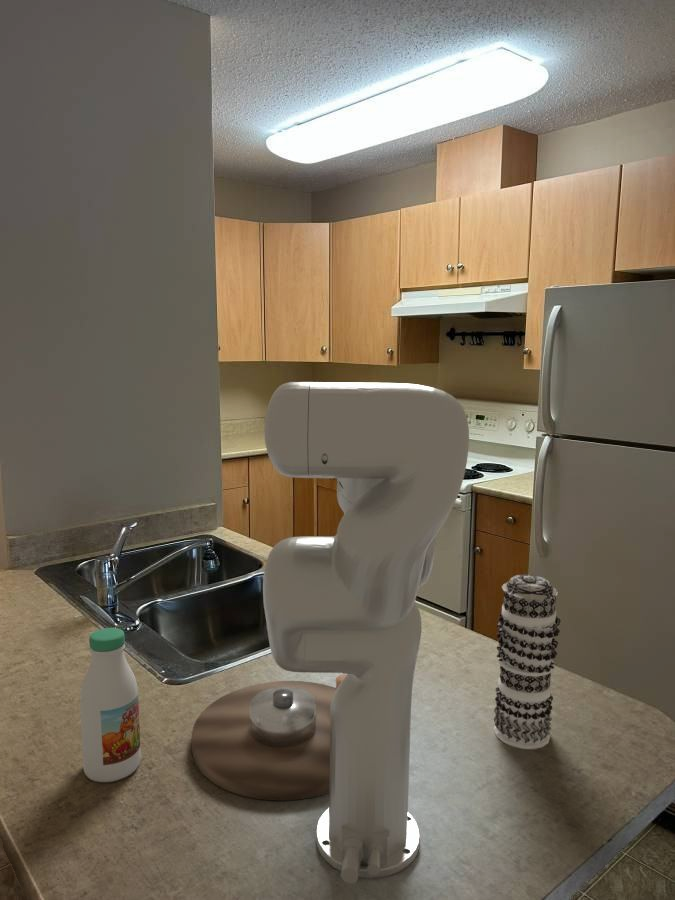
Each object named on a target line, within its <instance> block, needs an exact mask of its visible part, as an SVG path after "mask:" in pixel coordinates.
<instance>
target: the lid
mask: <svg viewBox="0 0 675 900" xmlns="http://www.w3.org/2000/svg"><path fill="white" fill-rule="evenodd" d="M315 732H316V699H315V698H314V696H313V695H312V694H310V693H309V692H307V691H305V690H302V689H299V688H294V687H276V688H271V689H267V690H264V691H262V692H260V693H258V694H257V695H255V696H254V697H253V698H252V700H251V701H250V734H251V736H252V737H253V739H254V740H256V741H257V742H259V743H260V744H263V745H266V746H270V747H276V748H286V747H293V746H297V745H300V744H302V743H304V742H306V741H308V740H309V739H310V738H312V737H313V735H314V734H315Z"/></svg>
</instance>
